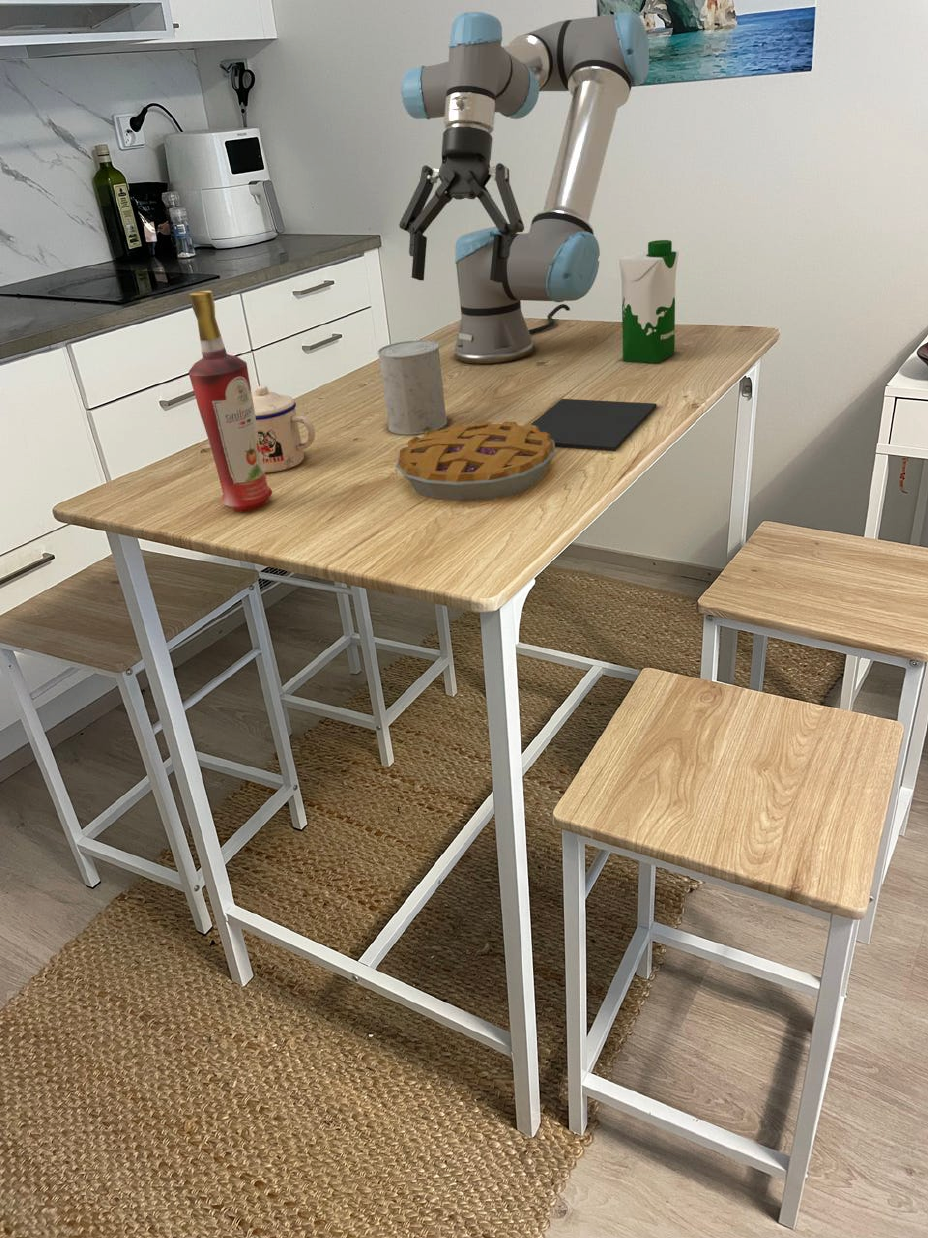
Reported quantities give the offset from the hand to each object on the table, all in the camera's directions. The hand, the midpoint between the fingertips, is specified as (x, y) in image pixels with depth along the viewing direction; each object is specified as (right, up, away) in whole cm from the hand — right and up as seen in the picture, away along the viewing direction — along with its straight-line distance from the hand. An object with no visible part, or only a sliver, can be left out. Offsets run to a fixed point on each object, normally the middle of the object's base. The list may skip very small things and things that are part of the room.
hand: (456, 280), depth 146 cm
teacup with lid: (-26, -29, -4) cm, 39 cm away
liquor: (-28, -37, -17) cm, 50 cm away
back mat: (+20, -23, -2) cm, 30 cm away
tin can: (-6, -21, +6) cm, 23 cm away
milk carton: (+35, -4, +27) cm, 45 cm away
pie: (+3, -33, -16) cm, 37 cm away
